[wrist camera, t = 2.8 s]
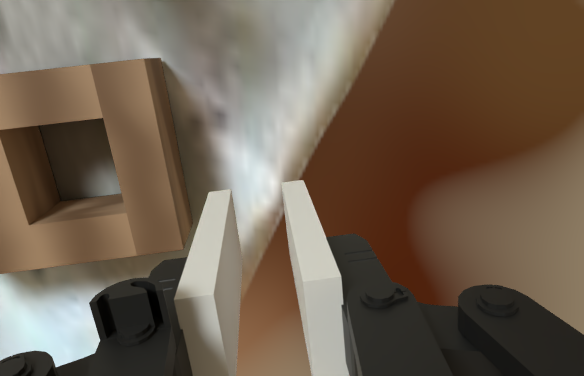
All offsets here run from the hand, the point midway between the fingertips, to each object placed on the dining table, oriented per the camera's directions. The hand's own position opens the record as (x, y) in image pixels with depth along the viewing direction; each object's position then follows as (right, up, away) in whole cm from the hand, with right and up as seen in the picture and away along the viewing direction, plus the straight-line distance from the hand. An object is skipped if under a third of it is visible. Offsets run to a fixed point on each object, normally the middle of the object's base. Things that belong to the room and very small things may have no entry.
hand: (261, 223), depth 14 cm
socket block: (-15, +3, +15) cm, 21 cm away
